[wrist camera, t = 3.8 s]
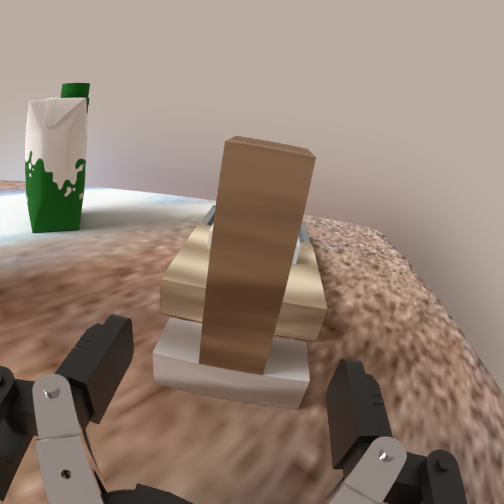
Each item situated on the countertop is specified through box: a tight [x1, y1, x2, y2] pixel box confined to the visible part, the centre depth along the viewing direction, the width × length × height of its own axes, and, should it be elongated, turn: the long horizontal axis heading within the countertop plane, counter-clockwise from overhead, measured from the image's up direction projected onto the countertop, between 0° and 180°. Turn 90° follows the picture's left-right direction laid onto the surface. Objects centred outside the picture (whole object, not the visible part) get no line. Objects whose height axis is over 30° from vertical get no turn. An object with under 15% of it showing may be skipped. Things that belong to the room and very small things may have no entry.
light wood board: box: [160, 224, 328, 341], centre depth 33 cm, size 14×14×4 cm
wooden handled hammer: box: [153, 136, 316, 409], centre depth 18 cm, size 4×10×16 cm, turn 86°
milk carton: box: [25, 83, 90, 233], centre depth 36 cm, size 9×9×20 cm
